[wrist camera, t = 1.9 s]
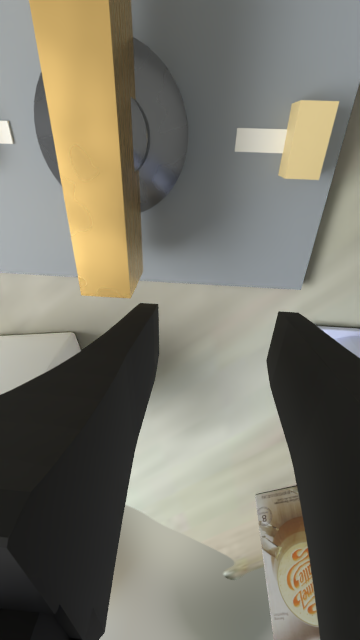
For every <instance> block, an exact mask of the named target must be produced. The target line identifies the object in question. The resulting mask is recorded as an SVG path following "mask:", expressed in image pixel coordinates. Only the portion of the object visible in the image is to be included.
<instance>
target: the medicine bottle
mask: <svg viewBox="0 0 360 640" xmlns="http://www.w3.org/2000/svg"><path fill="white" fill-rule="evenodd" d="M80 351H81V349H80V346H79V344H78V341H77V338H76V336H75V334H74V333H72V332H64V333H45V334H26V335H7V336H0V395H1V394H3V393H6V392H8V391H10V390H12V389H14V388H16V387H18V386H20V385H22V384H24V383H26V382H28V381H30V380H32V379H34V378H36V377H38V376H39V375H41V374H43V373H45V372H47V371H49V370H51V369H53V368H54V367H56V366H58V365H59V364H61V363H63V362H64V361H66V360H68V359H69V358H71V357H72V356H74V355H76V354H77V353H79V352H80Z"/></svg>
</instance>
